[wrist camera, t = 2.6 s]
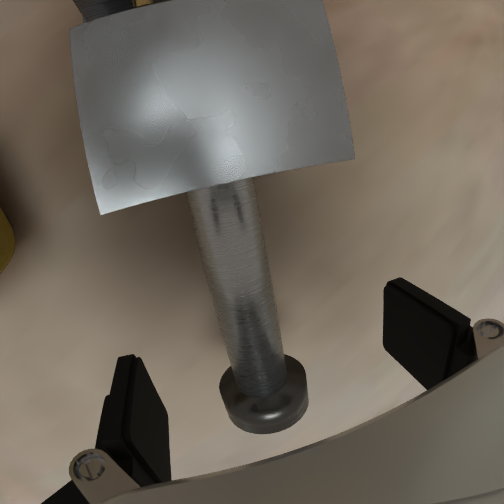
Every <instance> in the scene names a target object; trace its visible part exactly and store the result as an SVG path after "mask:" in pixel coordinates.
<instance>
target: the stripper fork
mask: <svg viewBox="0 0 504 504" xmlns="http://www.w3.org/2000/svg"><path fill="white" fill-rule="evenodd" d="M73 1H74V3H75V4H76V6H77V7H78V9H79V10H80V12H81V13H82V15H83V17H84V18H85V20H86V21H87V22H90V21H93V20H96V19H99V18H102V17H106V16H109V15H112V14H116V13H119V12H123V11H127V10H131V9H135V4H134V0H73Z"/></svg>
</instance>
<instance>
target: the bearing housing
mask: <svg viewBox="0 0 504 504" xmlns="http://www.w3.org/2000/svg"><path fill="white" fill-rule="evenodd" d="M70 44H71V57H72V68H73V77H74V85H75V93H76V100H77V107H78V114H79V120H80V126H81V131H82V137H83V142H84V147H85V152H86V157H87V162H88V166H89V171H90V175H91V180H92V184H93V188H94V192H95V196H96V200H97V204H98V208H99V211H100V215H103V214H106V213H109V212H113V211H116V210H120V209H123V208H127V207H131V206H134V205H138V204H141V203H145V202H149V201H153V200H156V199H160V198H164V197H168V196H172V195H176V194H180V193H184V192H188V191H192V190H196V189H201V188H205V187H209V186H214V185H218V184H222V183H227V182H232V181H236V180H241V179H246V178H250V177H255V176H260V175H265V174H270V173H275V172H281V171H286V170H291V169H297V168H303V167H308V166H314V165H320V164H326V163H332V162H339V161H345V160H352V159H355V154H354V147H353V140H352V134H351V127H350V121H349V115H348V109H347V104H346V98H345V93H344V88H343V83H342V78H341V73H340V69H339V64H338V60H337V55H336V51H335V47H334V43H333V38H332V34H331V31H330V27H329V23H328V19H327V16H326V12H325V8H324V5H323V2H322V0H173V1H167V2H162V3H157V4H152V5H148V6H143V7H139V8H135V9H131V10H127V11H123V12H119V13H116V14H112V15H109V16H106V17H102V18H99V19H96V20H93V21H90V22H87V23H84V24H81V25H79V26H76V27H73V28H70Z"/></svg>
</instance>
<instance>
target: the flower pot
mask: <svg viewBox="0 0 504 504" xmlns="http://www.w3.org/2000/svg"><path fill="white" fill-rule="evenodd" d="M14 249H15V237H14V233H13V229H12V227H11V225H10V223H9V222H8V220H7V218H6V216H5V214H4V213H3V211H2V209H1V207H0V274H1V272H2V271H3V270H4V269H5V267H6V266H7V265H8V263H9V262H10V260H11V258H12V256H13V253H14Z"/></svg>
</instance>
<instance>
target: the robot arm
mask: <svg viewBox="0 0 504 504" xmlns="http://www.w3.org/2000/svg"><path fill="white" fill-rule="evenodd" d="M470 321H471V319H470V318H468V317H467V316H465V315H463V314H462V313H460V312H458V311H457V310H455V309H454V308H452V307H450V306H449V305H447V304H445V303H444V302H442V301H440V300H439V299H437V298H435V297H434V296H432V295H430V294H429V293H427V292H425V291H424V290H422V289H420V288H419V287H417V286H415V285H413V284H412V283H410V282H408V281H407V280H405V279H403V278H401V277H400V278H397V279H394V280H391V281H388V282H387V284H386V286H385V287H384V312H383V346H384V348H385V350H386V351H387V352H388V353H389V354H390V355H391V356H392V357H393V358H394V359H395V360H397V361H398V362H399V363H400V364H401V365H402V366H403V367H404V368H405V369H406V370H407V371H408V372H409V373H410V374H411V375H412V376H413V377H414V378H415V379H416V380H417V381H418V382H419V383H420V384H422V385H423V386H424V387H425V388H426V389H427V391H425V392H424V393H422V394H420V395H418V396H416V397H415V398H413V399H411V400H409V401H407V402H405V403H403V404H401V405H400V406H398V407H396V408H394V409H392V410H390V411H388V412H386V413H384V414H382V415H379V416H377V417H375V418H373V419H371V420H369V421H367V422H364V423H362V424H360V425H358V426H355V427H353V428H351V429H349V430H346V431H344V432H341V433H339V434H337V435H334V436H332V437H329V438H326V439H324V440H321V441H319V442H316V443H313V444H310V445H308V446H305V447H302V448H299V449H296V450H293V451H290V452H287V453H284V454H281V455H278V456H274V457H271V458H268V459H264V460H261V461H257V462H254V463H250V464H246V465H242V466H238V467H234V468H230V469H226V470H222V471H218V472H213V473H209V474H204V475H199V476H194V477H189V478H183V479H178V480H173V481H172V480H171V466H170V449H169V425H168V414H167V411H166V409H165V407H164V405H163V403H162V401H161V399H160V397H159V395H158V393H157V391H156V389H155V387H154V385H153V383H152V381H151V378H150V376H149V374H148V372H147V370H146V368H145V366H144V363H143V361H142V359H141V358H140V357H137V358H136V356H135V355H134V354H131V355H126V356H122V357H118V360H117V364H116V368H115V373H114V377H113V382H112V386H111V391H110V395H107V396H106V397H105V400H104V404H103V409H102V414H101V419H100V424H99V429H98V435H97V440H96V446H95V449H88V450H84V451H82V452H80V453H79V454H77V455H76V456H75V457H74V458H73V460H72V461H71V463H70V466H69V475H70V477H71V479H72V480H71V481H70V482H68V483H67V484H66V485H65V486H63V487H62V488H61V489H59V490H58V491H57V492H56V493H54V494H53V495H52V496H50V497H49V498H48V499H46V500H45V501H44V502H42V503H41V504H504V324H503V323H502V322H500V321H498V320H495V319H482V320H479V321H477V322H476V323H475V324H474V326H473V327H471V326H470Z"/></svg>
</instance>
